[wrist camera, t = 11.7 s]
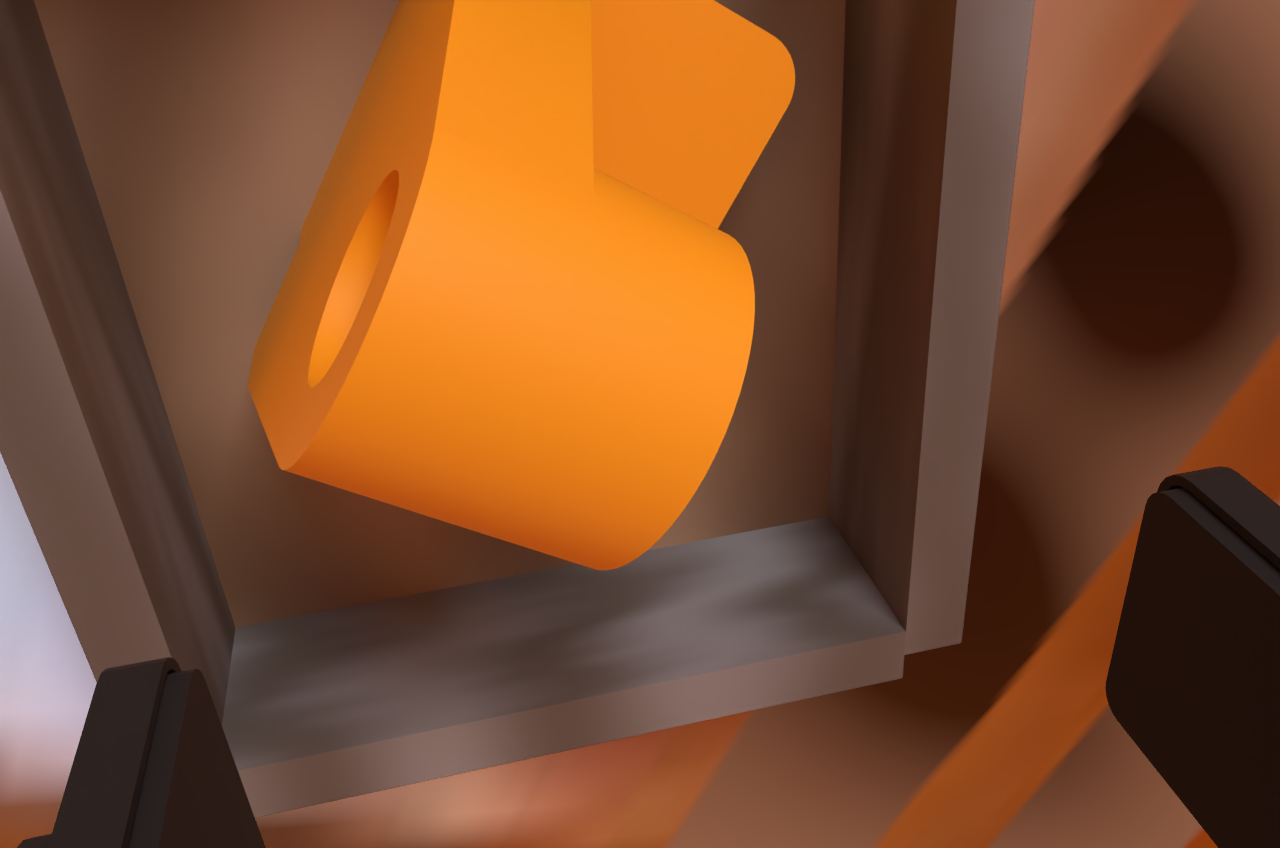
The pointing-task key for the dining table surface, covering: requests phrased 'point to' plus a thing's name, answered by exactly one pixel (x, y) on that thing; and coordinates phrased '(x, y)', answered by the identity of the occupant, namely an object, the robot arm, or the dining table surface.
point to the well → (443, 552)
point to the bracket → (529, 270)
